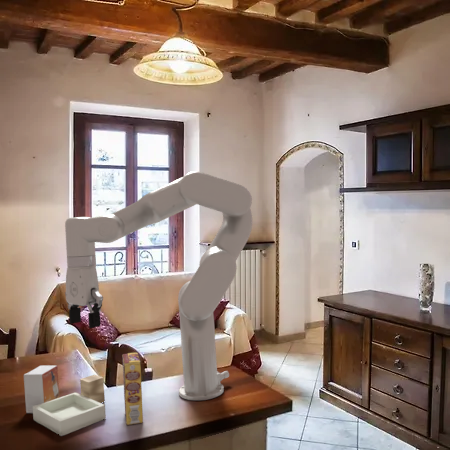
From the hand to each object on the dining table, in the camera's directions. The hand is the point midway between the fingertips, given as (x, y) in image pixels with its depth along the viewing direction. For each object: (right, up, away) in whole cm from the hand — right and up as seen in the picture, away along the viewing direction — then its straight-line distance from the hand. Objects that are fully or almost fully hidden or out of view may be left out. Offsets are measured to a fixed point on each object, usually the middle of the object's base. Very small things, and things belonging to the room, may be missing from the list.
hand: (84, 324), depth 133 cm
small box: (-11, -23, 0) cm, 26 cm away
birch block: (+2, -22, +1) cm, 22 cm away
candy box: (+15, -22, -10) cm, 28 cm away
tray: (-1, -22, -9) cm, 24 cm away
